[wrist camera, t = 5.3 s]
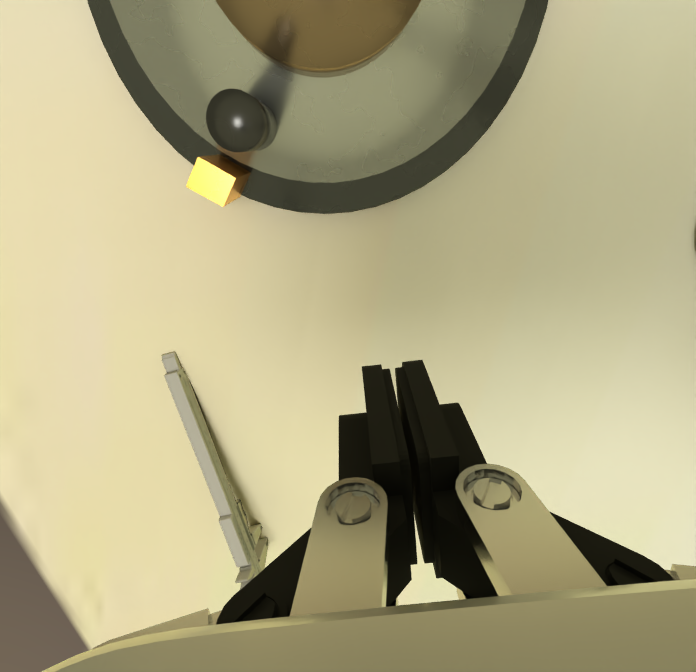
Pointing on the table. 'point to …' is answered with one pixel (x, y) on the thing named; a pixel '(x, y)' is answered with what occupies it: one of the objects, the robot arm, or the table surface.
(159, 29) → the turntable
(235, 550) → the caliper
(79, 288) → the table surface
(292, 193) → the base
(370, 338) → the table surface
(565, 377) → the table surface
